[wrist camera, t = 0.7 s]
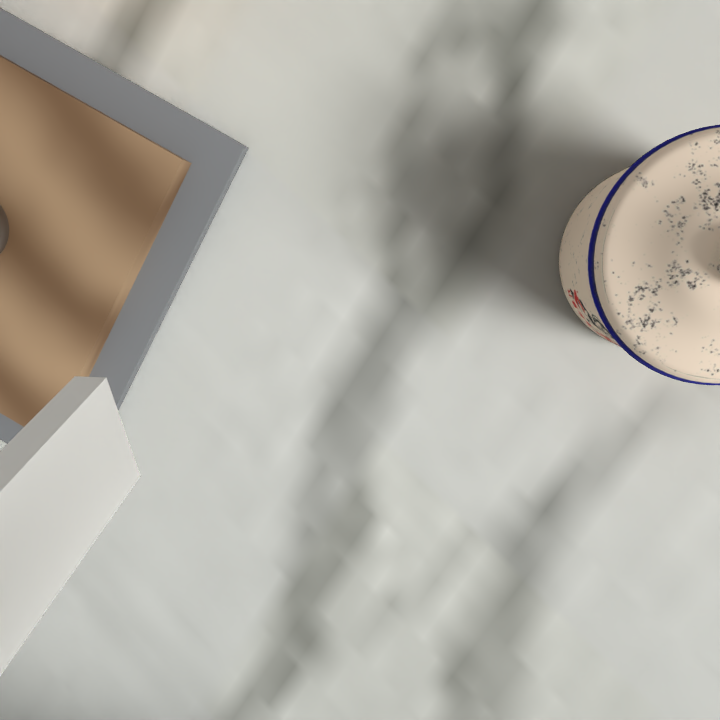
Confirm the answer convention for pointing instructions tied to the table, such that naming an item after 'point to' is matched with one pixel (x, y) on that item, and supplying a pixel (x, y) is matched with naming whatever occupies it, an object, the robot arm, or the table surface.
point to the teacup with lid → (653, 258)
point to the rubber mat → (187, 213)
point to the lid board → (68, 232)
